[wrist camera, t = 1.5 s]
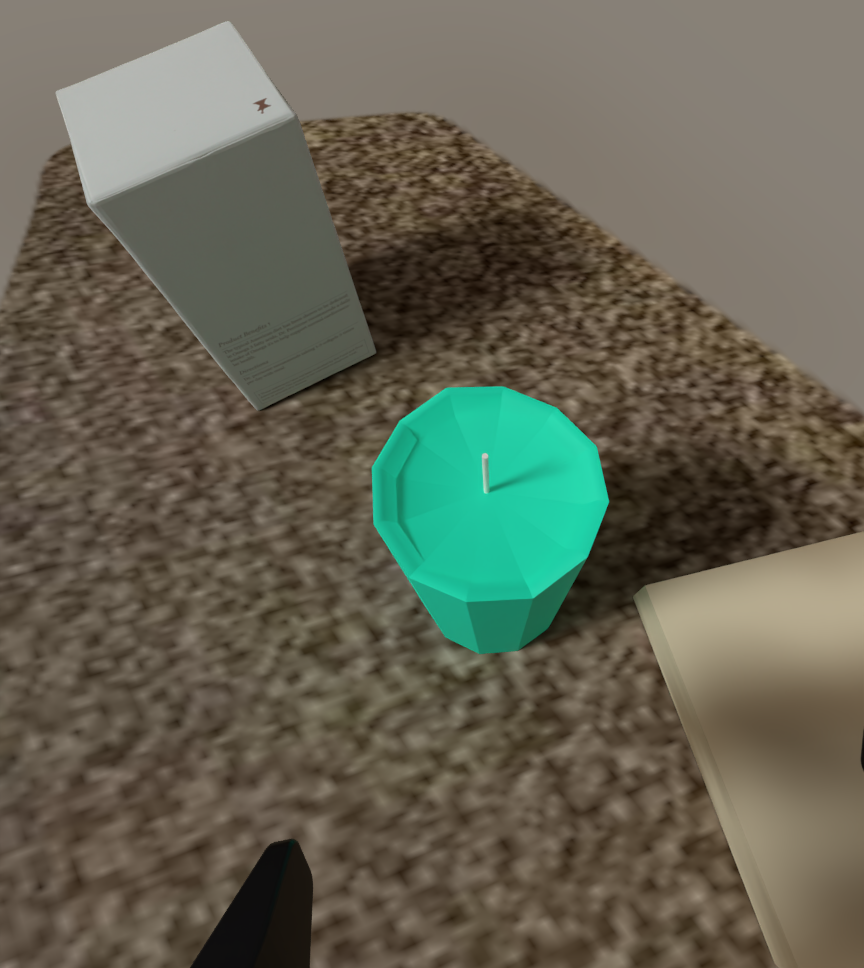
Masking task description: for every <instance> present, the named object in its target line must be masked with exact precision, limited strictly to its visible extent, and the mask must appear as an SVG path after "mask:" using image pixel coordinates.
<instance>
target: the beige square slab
mask: <svg viewBox="0 0 864 968" xmlns="http://www.w3.org/2000/svg"><path fill="white" fill-rule="evenodd" d="M633 599H634V601H635V604H636V607H637V609H638V612H639V614H640V617H641V619H642V622H643V625H644V627H645V630H646V632H647V635H648V638H649V640H650V643H651V645H652V648H653V650H654V653H655V656H656V658H657V661H658V663H659V666H660V669H661V671H662V674H663V676H664V679H665V681H666V684H667V687H668V689H669V692H670V694H671V697H672V700H673V702H674V705H675V707H676V710H677V712H678V715H679V718H680V720H681V723H682V725H683V728H684V731H685V733H686V736H687V738H688V741H689V743H690V746H691V749H692V751H693V754H694V756H695V759H696V762H697V764H698V767H699V769H700V772H701V774H702V777H703V780H704V782H705V785H706V787H707V790H708V793H709V795H710V798H711V800H712V803H713V805H714V808H715V811H716V813H717V816H718V818H719V821H720V824H721V826H722V829H723V831H724V834H725V836H726V839H727V842H728V844H729V847H730V849H731V852H732V855H733V857H734V860H735V862H736V865H737V867H738V870H739V873H740V875H741V878H742V880H743V883H744V886H745V888H746V891H747V893H748V896H749V898H750V901H751V904H752V906H753V909H754V911H755V914H756V917H757V919H758V922H759V924H760V927H761V929H762V932H763V935H764V937H765V940H766V942H767V945H768V948H769V950H770V953H771V955H772V958H773V960H774V963H775V964H776V965H777V966H778V967H779V968H864V771H863V769H862V766H861V748H862V738H863V729H864V532H860V533H856V534H851V535H847V536H843V537H839V538H835V539H831V540H827V541H823V542H819V543H815V544H811V545H807V546H803V547H799V548H795V549H791V550H787V551H783V552H779V553H775V554H771V555H766V556H762V557H758V558H754V559H750V560H746V561H742V562H738V563H734V564H730V565H726V566H722V567H718V568H714V569H710V570H706V571H702V572H698V573H694V574H690V575H685V576H681V577H677V578H673V579H669V580H665V581H661V582H657V583H653V584H649V585H645V586H644V587H643V588H642V589H641V590H640V591H638V592H637V593H636V594H635V595H634V596H633Z"/></svg>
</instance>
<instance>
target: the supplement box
mask: <svg viewBox="0 0 864 968" xmlns="http://www.w3.org/2000/svg"><path fill="white" fill-rule="evenodd" d="M56 96H57V99H58V102H59V105H60V108H61V111H62V115H63V118H64V121H65V124H66V127H67V130H68V133H69V137H70V140H71V144H72V148H73V152H74V156H75V159H76V163H77V167H78V171H79V175H80V179H81V182H82V186H83V189H84V193H85V197H86V202H87V204H88V206H89V207H90V208H91V210H92V211H93V212H94V213H95V214H96V215H97V216H98V217H99V218H100V220H101V221H102V222H103V223H104V224H105V225H106V226H107V227H108V229H109V230H110V231H111V232H112V233H113V234H114V235H115V237H116V238H117V239H118V240H119V241H120V242H121V244H122V245H123V246H124V247H125V249H126V250H127V251H128V252H129V253H130V255H131V256H132V257H133V258H134V260H135V261H136V262H137V263H138V265H139V266H140V267H141V268H142V270H143V271H144V272H145V273H146V275H147V276H148V277H149V278H150V280H151V281H152V282H153V283H154V284H155V286H156V287H157V288H158V289H159V291H160V292H161V293H162V294H163V295H164V297H165V298H166V299H167V300H168V302H169V303H170V304H171V306H172V307H173V308H174V309H175V311H176V312H177V313H178V315H179V316H180V317H181V318H182V320H183V321H184V322H185V323H186V325H187V326H188V327H189V328H190V330H191V331H192V332H193V333H194V335H195V336H196V337H197V338H198V340H199V341H200V342H201V343H202V345H203V346H204V347H205V348H206V350H207V351H208V352H209V353H210V355H211V356H212V357H213V358H214V359H215V361H216V362H217V363H218V364H219V366H220V367H221V368H222V369H223V371H224V372H225V373H226V374H227V375H228V377H229V378H230V379H231V380H232V381H233V382H234V384H235V385H236V386H237V387H238V388H239V390H240V391H241V392H242V393H243V395H244V396H245V397H246V398H247V399H248V401H249V402H250V403H251V404H252V405H253V406H254V407H255V409H256V410H261V409H263V408H265V407H267V406H269V405H271V404H273V403H275V402H277V401H279V400H281V399H283V398H285V397H287V396H289V395H292V394H294V393H296V392H298V391H300V390H302V389H304V388H306V387H308V386H310V385H312V384H314V383H316V382H318V381H320V380H322V379H324V378H326V377H328V376H330V375H333V374H335V373H337V372H339V371H341V370H343V369H345V368H347V367H349V366H351V365H353V364H355V363H357V362H360V361H362V360H364V359H366V358H368V357H370V356H372V355H374V354H375V353H376V349H375V346H374V343H373V340H372V337H371V334H370V331H369V328H368V325H367V322H366V319H365V316H364V313H363V310H362V307H361V304H360V301H359V298H358V296H357V293H356V290H355V287H354V284H353V280H352V277H351V274H350V271H349V268H348V265H347V262H346V259H345V256H344V253H343V250H342V247H341V244H340V242H339V239H338V236H337V233H336V230H335V227H334V224H333V221H332V218H331V215H330V212H329V209H328V206H327V203H326V200H325V197H324V194H323V191H322V188H321V185H320V182H319V179H318V176H317V173H316V170H315V167H314V164H313V161H312V158H311V155H310V152H309V149H308V146H307V143H306V140H305V137H304V134H303V130H302V127H301V124H300V121H299V119H298V116H297V114H296V113H295V112H294V110H293V109H292V108H291V107H290V105H289V104H288V103H287V101H286V100H285V98H284V97H283V96H282V94H281V93H280V91H279V90H278V89H277V87H276V86H275V85H274V83H273V82H272V80H271V79H270V78H269V76H268V75H267V74H266V72H265V71H264V69H263V68H262V67H261V65H260V64H259V62H258V61H257V59H256V58H255V56H254V55H253V53H252V52H251V50H250V49H249V47H248V46H247V45H246V43H245V42H244V40H243V39H242V37H241V36H240V34H239V33H238V31H237V30H236V29H235V27H234V26H233V24H232V23H231V22H230V21H226V22H223V23H221V24H219V25H216V26H214V27H212V28H210V29H208V30H205V31H203V32H200V33H198V34H196V35H193V36H191V37H189V38H186V39H184V40H181V41H179V42H177V43H175V44H172V45H170V46H167V47H165V48H162V49H160V50H158V51H155V52H152V53H150V54H148V55H145V56H143V57H140V58H138V59H135V60H133V61H130V62H128V63H126V64H123V65H121V66H118V67H116V68H114V69H111V70H109V71H106V72H104V73H101V74H99V75H96V76H94V77H91V78H89V79H86V80H84V81H82V82H79V83H76V84H74V85H72V86H69V87H66V88H63V89H61V90H58V91H57V92H56Z"/></svg>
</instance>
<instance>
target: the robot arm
mask: <svg viewBox="0 0 864 968" xmlns="http://www.w3.org/2000/svg"><path fill="white" fill-rule="evenodd" d="M861 766H862V769H863V771H864V729H863V738H862V748H861ZM312 901H313V880H312V874H311V871H310V868H309V866H308V863H307V861H306V859H305V856H304V854H303V852H302V850H301V847H300V845H299V843H298V841H296V840H295V839H288V840H283V841H278V842H274V843H272V844H270V845H269V846H268V847H267V848H266V850H265V851H264V853H263V854H262V856H261V857H260V859H259V860H258V862H257V864H256V865H255V867H254V868H253V870H252V871H251V873H250V875H249V876H248V878H247V879H246V881H245V882H244V884H243V886H242V887H241V889H240V890H239V892H238V893H237V895H236V896H235V898H234V900H233V901H232V903H231V904H230V906H229V907H228V909H227V911H226V912H225V914H224V915H223V917H222V918H221V920H220V922H219V923H218V925H217V926H216V928H215V929H214V931H213V932H212V934H211V936H210V937H209V939H208V940H207V942H206V943H205V945H204V947H203V948H202V950H201V951H200V953H199V954H198V956H197V958H196V959H195V961H194V962H193V964H192V965H191V967H190V968H310V946H311V923H312Z"/></svg>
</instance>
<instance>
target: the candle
mask: <svg viewBox="0 0 864 968" xmlns="http://www.w3.org/2000/svg"><path fill="white" fill-rule="evenodd" d="M372 486H373V519H374V526H375V527H376V529H377V531H378V532H379V534H380V535H381V537H382V539H383V540H384V542H385V543H386V545H387V546H388V548H389V550H390V551H391V553H392V554H393V556H394V558H395V559H396V561H397V562H398V564H399V566H400V567H401V569H402V570H403V572H404V574H405V575H406V577H407V578H408V580H409V581H410V583H411V585H412V586H413V588H414V589H415V591H416V593H417V594H418V596H419V597H420V599H421V601H422V602H423V604H424V605H425V607H426V608H427V610H428V611H429V613H430V614H431V616H432V618H433V619H434V621H435V622H436V624H437V625H438V627H439V628H440V630H441V631H442V633H443V634H444V636H445V637H446V638H448V639H450V640H452V641H454V642H456V643H458V644H460V645H462V646H464V647H466V648H468V649H470V650H473V651H475V652H477V653H479V654H486V653H498V652H511V651H518V650H520V649H521V648H522V647H524V646H525V645H526V644H528V643H529V642H531V641H532V640H533V639H535V638H536V637H537V636H539V635H540V634H541V633H543V632H544V631H546V630H547V629H548V628H549V626H550V624H551V622H552V621H553V619H554V617H555V615H556V613H557V612H558V610H559V608H560V606H561V604H562V603H563V601H564V599H565V597H566V595H567V594H568V592H569V590H570V588H571V586H572V585H573V583H574V581H575V579H576V577H577V575H578V574H579V572H580V570H581V568H582V566H583V565H584V563H585V561H586V559H587V557H588V555H589V552H590V550H591V547H592V545H593V542H594V540H595V537H596V534H597V532H598V529H599V527H600V524H601V522H602V519H603V516H604V514H605V511H606V509H607V506H608V504H609V499H608V494H607V490H606V486H605V481H604V477H603V472H602V468H601V464H600V459H599V455H598V450H597V446H596V445H595V444H594V443H593V442H592V441H591V440H590V439H588V438H587V437H586V436H585V435H584V434H583V433H582V432H581V431H580V430H579V429H578V428H577V427H576V426H575V425H574V424H573V423H572V422H571V421H570V420H569V419H568V418H567V417H566V416H565V415H564V414H563V413H562V412H561V411H559V410H558V409H557V408H556V407H553V406H551V405H548V404H546V403H543V402H541V401H538V400H536V399H533V398H531V397H528V396H526V395H523V394H521V393H518V392H516V391H513V390H511V389H508V388H506V387H457V388H445V389H444V390H442V391H441V392H440V393H438V394H437V395H435V396H434V397H433V398H431V399H430V400H428V401H427V402H426V403H424V404H423V405H421V406H420V407H419V408H417V409H416V410H414V411H413V412H412V413H410V414H409V415H407V416H406V417H404V418H403V419H402V420H400V421H399V423H398V425H397V426H396V428H395V430H394V431H393V433H392V435H391V436H390V438H389V440H388V441H387V443H386V445H385V446H384V448H383V450H382V451H381V453H380V455H379V456H378V458H377V460H376V461H375V463H374V465H373V466H372Z"/></svg>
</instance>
